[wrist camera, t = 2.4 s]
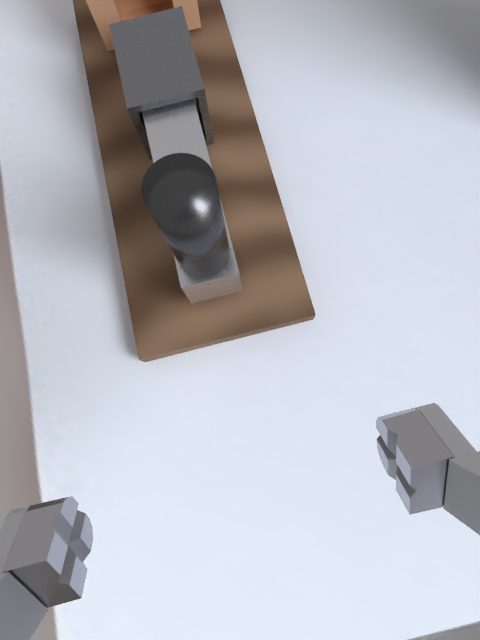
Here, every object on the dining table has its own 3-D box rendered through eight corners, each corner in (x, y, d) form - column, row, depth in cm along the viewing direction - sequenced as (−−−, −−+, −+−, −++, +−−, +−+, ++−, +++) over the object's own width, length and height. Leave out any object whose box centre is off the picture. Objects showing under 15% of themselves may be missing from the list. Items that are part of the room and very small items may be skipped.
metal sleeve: (214, 143, 34) (204, 88, 28) (149, 159, 34) (126, 108, 28) (194, 71, 36) (181, 6, 30) (133, 86, 36) (109, 24, 30)
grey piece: (242, 290, 30) (229, 212, 18) (191, 303, 30) (145, 233, 18) (185, 72, 35) (146, -100, 23) (142, 83, 35) (80, -84, 23)
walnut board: (313, 319, 31) (315, 314, 30) (144, 362, 31) (139, 359, 30) (211, -19, 40) (209, -35, 39) (79, 14, 40) (72, -1, 39)
